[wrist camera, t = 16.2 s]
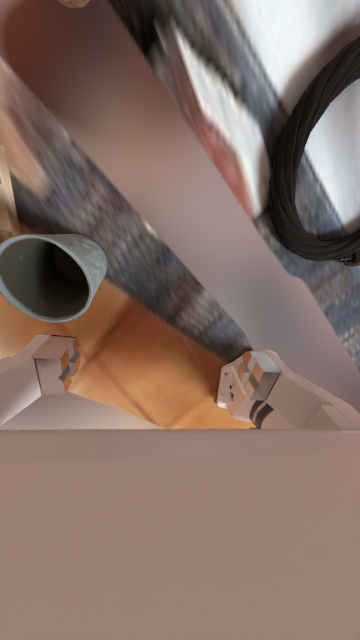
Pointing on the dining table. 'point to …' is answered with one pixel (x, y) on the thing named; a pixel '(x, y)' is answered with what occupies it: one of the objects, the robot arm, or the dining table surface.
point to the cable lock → (326, 86)
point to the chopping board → (75, 3)
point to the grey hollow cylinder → (51, 274)
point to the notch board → (7, 202)
